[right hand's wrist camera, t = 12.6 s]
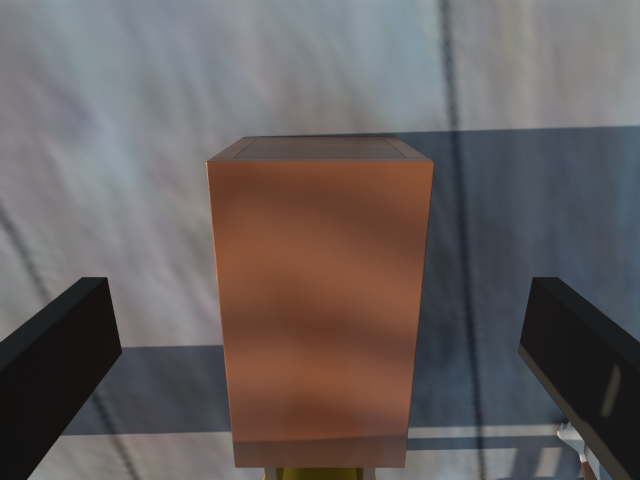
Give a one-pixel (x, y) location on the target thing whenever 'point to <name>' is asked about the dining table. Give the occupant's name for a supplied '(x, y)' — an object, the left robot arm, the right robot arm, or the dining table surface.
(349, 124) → the dining table surface
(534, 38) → the dining table surface
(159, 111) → the dining table surface
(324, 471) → the drawer
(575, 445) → the fork
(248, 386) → the cabinet
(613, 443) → the right robot arm
